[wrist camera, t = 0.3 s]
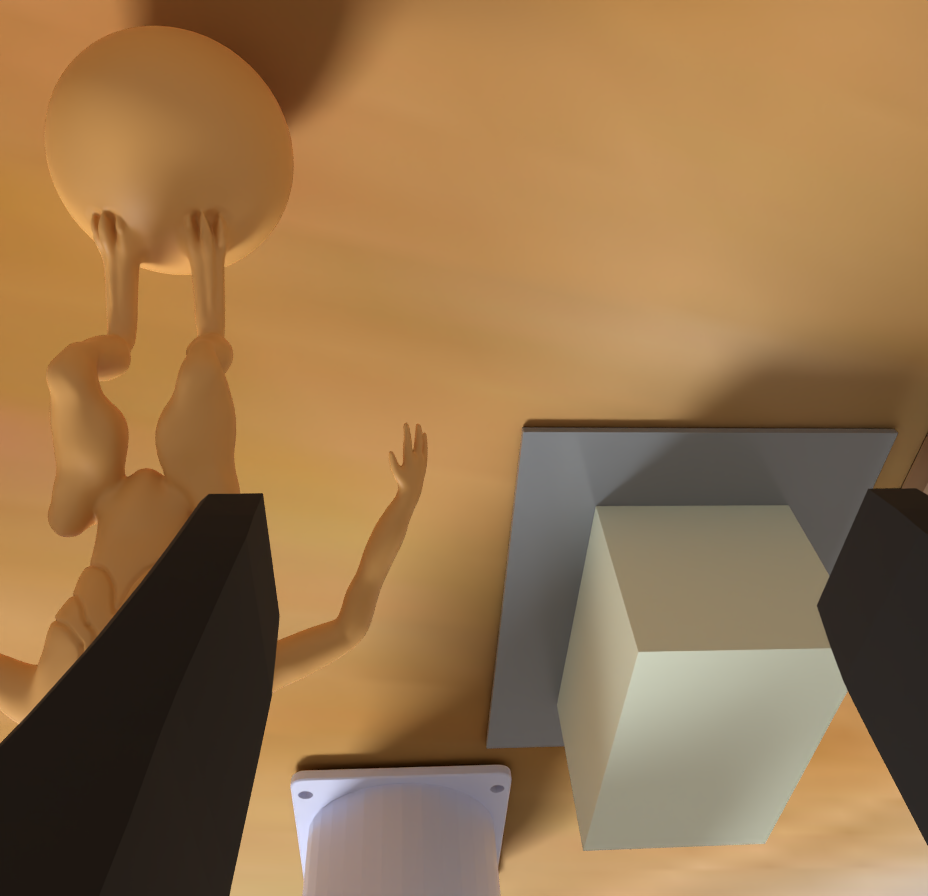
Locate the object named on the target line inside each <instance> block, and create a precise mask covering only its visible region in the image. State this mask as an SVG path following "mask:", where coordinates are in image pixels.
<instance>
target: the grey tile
mask: <svg viewBox="0 0 928 896" xmlns="http://www.w3.org/2000/svg"><path fill="white" fill-rule="evenodd" d="M897 434H898V433H897V431H896V430H895V429H806V428H551V427H522V435H521V443H520V452H519V461H518V470H517V478H516V487H515V496H514V504H513V513H512V522H511V531H510V539H509V548H508V557H507V565H506V574H505V583H504V591H503V600H502V609H501V618H500V626H499V635H498V644H497V652H496V661H495V670H494V679H493V687H492V696H491V705H490V713H489V722H488V731H487V739H486V748H520V747H556V746H564V741H563V736H562V730H561V725H560V719H559V714H558V708H557V702H558V697H559V692H560V686H561V681H562V676H563V671H564V666H565V661H566V656H567V651H568V646H569V640H570V635H571V630H572V625H573V620H574V615H575V610H576V605H577V600H578V594H579V589H580V584H581V579H582V574H583V569H584V564H585V559H586V554H587V549H588V543H589V538H590V533H591V528H592V523H593V518H594V513H595V508H596V506H728V505H789V507H790V509H791V510H792V512H793V514H794V515H795V517H796V519H797V521H798V522H799V524H800V526H801V528H802V529H803V531H804V533H805V534H806V536H807V538H808V540H809V541H810V543H811V545H812V547H813V548H814V550H815V552H816V553H817V555H818V557H819V559H820V560H821V562H822V564H823V566H824V567H825V569H826V571H827V572H828V574H829V576H830V574H831V572H832V570H833V567H834V565H835V563H836V560H837V558H838V556H839V554H840V551H841V549H842V547H843V545H844V542H845V540H846V538H847V535H848V533H849V531H850V529H851V526H852V524H853V522H854V520H855V517H856V515H857V513H858V511H859V508H860V506H861V504H862V501H863V499H864V497H865V495H866V492H867V490H868V489H873V487H874V484H875V482H876V480H877V478H878V476H879V474H880V471H881V469H882V467H883V465H884V463H885V461H886V458H887V456H888V454H889V452H890V450H891V447H892V445H893V443H894V441H895V439H896V437H897Z"/></svg>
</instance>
